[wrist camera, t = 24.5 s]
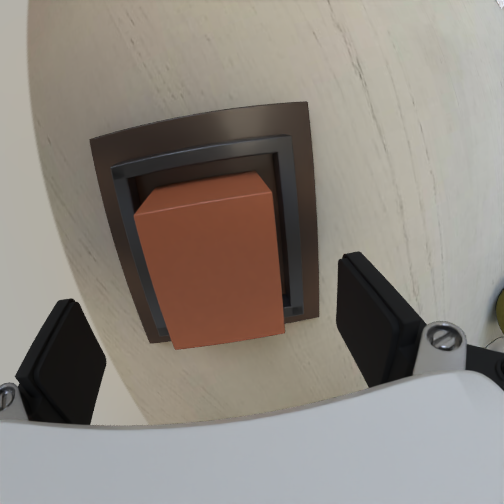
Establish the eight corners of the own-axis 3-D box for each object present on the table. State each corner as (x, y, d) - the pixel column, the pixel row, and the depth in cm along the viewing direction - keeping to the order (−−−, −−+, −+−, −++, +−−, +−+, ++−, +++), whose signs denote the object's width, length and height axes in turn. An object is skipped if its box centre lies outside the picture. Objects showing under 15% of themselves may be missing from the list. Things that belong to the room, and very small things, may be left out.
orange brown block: (154, 187, 16) (132, 215, 11) (255, 170, 16) (272, 191, 12) (181, 296, 19) (174, 350, 14) (268, 282, 19) (285, 333, 15)
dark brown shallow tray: (95, 137, 15) (78, 141, 13) (302, 102, 16) (316, 100, 14) (151, 335, 21) (146, 358, 19) (315, 309, 22) (325, 330, 20)
